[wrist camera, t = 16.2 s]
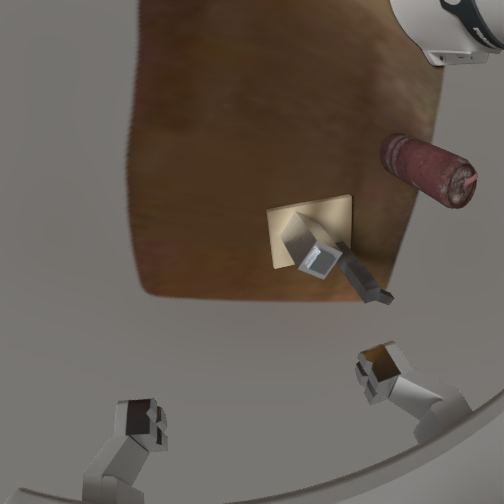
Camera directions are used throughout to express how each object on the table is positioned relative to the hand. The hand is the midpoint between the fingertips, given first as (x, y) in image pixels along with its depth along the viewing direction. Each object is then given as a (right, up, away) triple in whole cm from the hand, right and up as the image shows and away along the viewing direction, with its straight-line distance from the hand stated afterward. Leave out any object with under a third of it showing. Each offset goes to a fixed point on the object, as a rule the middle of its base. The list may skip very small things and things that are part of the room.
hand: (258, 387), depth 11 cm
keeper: (+9, +8, +32) cm, 34 cm away
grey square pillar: (+6, +8, +30) cm, 32 cm away
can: (+20, +20, +27) cm, 39 cm away
